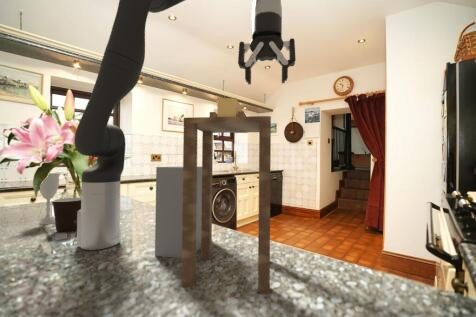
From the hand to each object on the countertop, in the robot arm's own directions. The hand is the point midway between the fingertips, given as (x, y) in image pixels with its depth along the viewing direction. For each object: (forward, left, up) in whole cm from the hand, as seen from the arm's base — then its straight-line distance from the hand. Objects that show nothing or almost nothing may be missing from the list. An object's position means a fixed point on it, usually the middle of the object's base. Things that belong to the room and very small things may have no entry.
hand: (266, 82), depth 59 cm
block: (-22, +1, -43) cm, 48 cm away
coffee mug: (-65, +11, -43) cm, 79 cm away
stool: (-7, -11, -43) cm, 45 cm away
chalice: (-80, +16, -43) cm, 92 cm away
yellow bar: (-7, -6, -12) cm, 15 cm away
